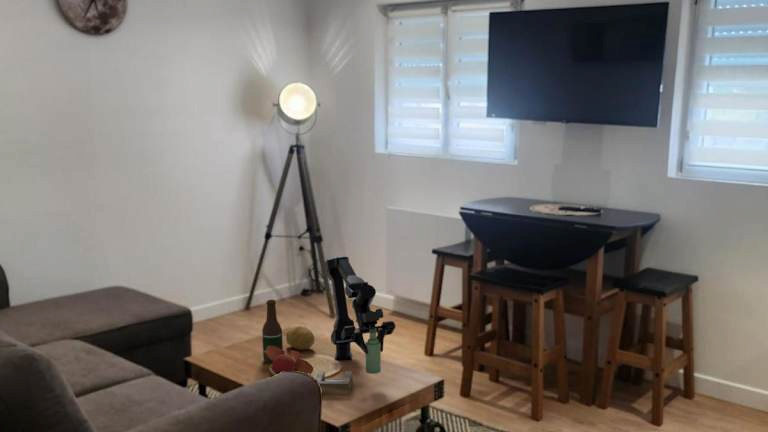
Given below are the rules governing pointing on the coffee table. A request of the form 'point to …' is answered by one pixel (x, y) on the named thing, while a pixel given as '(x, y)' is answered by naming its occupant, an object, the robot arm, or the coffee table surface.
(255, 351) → the coffee table surface
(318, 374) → the square wooden tray
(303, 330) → the potato
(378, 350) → the bottle
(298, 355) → the brown red lumpy cluster
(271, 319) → the beer bottle
